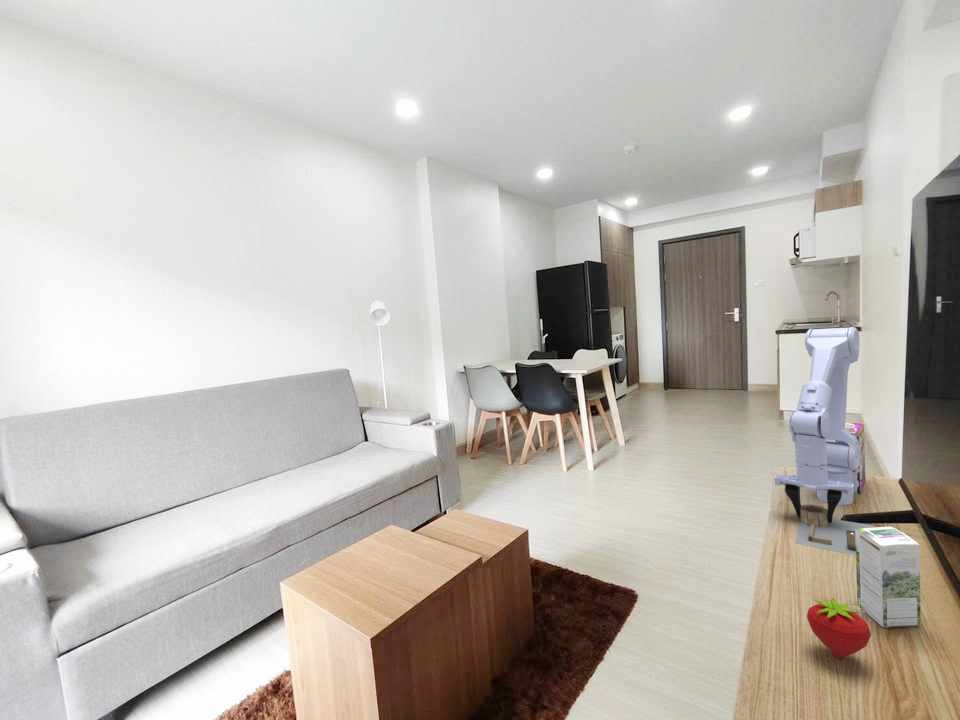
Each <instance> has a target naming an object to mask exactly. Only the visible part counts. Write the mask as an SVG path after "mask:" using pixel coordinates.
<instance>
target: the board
mask: <svg viewBox="0 0 960 720" xmlns="http://www.w3.org/2000/svg"><path fill="white" fill-rule="evenodd" d="M810 512H814V513H818V512H816V511H810ZM862 528H876V526H875V525H872V524H868V523H867V524H866V523H860V522H854V521H847V520H841V519H834V518H832V523H829V524H828V526H825V527H815V524H811V526H809V525H806V524H805V523H803V522H801V521H800V523H799V527H798V531H797V533H796V534H797V535H796V538H795V541H794V544H798V545H801V546H807V547H811V548H816V549H822V550H827V551H832V552H836V553H841V554H845V555H846V554H847V555H852V556H856V551H852V550H849V549H847V537H846V531H848V530H851V531H855V529H862Z"/></svg>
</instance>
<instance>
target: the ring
mask: <svg viewBox="0 0 960 720" xmlns="http://www.w3.org/2000/svg"><path fill="white" fill-rule="evenodd" d="M810 511H816V512H818V513H814V512H810ZM800 514H801V518H800V523H801V522H803V523H805V524H806V525H809V526H811V524H815V527H825V526H828V524H829V523H828V508H826V507H824V506H822V505H817V504H811V503H810V504H809V503H808V504H801V507H800Z"/></svg>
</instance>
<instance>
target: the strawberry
mask: <svg viewBox="0 0 960 720" xmlns="http://www.w3.org/2000/svg"><path fill="white" fill-rule="evenodd" d="M814 602H816V603H818V604H813V605H812V606H810V607H809V608H808V610H807V614H806V619H807V622H808V624H809V627H810V629H811V631H812V632H813V634H815V636H816V637H817V638H818V639H819V640H820V642H821V643H822V644H823V645H824V646H825V647H826V648H827V649H828V650H829V651H830V652H831V653H832V655H834V656H835V657H837V658H840V659H845V658H847V657H848V656H850V655H854V654H856V653H858V652H860V651H861V650H863V649H864V648H866V647H867V646H868V643H869V640H870V638H871V637H872V632H871V629H870V626H869V625H868V623H867V622H866V621H865V620H864V619H863V618H862V617H861V616H860V615H858V614H860V612H859V611H856V610H852V609H850V608H848V606H849V604H839V603H838V600H837V599H836V597H832V599H831V600H830V601H828V600H826V599H824V601H822V600H817V599H814Z"/></svg>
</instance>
